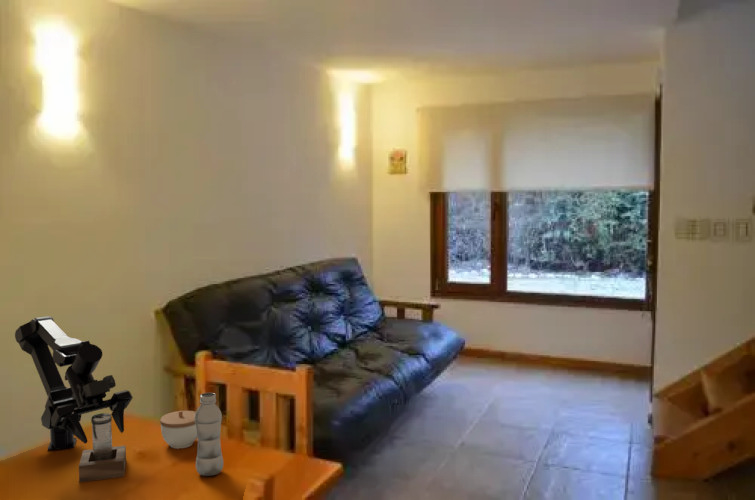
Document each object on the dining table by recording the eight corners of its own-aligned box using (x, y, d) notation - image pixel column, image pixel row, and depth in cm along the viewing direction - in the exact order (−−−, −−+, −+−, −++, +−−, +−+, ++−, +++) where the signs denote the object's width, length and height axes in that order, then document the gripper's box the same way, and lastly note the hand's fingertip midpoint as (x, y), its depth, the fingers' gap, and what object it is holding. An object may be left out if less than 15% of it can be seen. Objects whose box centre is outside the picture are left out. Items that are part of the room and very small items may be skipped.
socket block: (83, 465, 163) (83, 450, 163) (126, 460, 167) (125, 445, 166) (79, 482, 154) (78, 466, 154) (124, 476, 157) (123, 460, 157)
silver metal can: (96, 463, 162) (94, 413, 161) (115, 462, 163) (113, 412, 162) (90, 471, 158) (88, 420, 156) (110, 470, 158) (108, 419, 157)
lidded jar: (164, 455, 170) (163, 420, 169) (158, 441, 179) (157, 408, 179) (205, 447, 175) (204, 414, 174) (197, 434, 184) (196, 402, 184)
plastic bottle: (216, 480, 155) (214, 400, 153) (190, 478, 156) (188, 398, 154) (228, 469, 161) (226, 391, 159) (203, 466, 163) (201, 390, 161)
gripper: (53, 374, 153) (75, 431, 147) (127, 359, 167) (151, 410, 161) (41, 399, 159) (62, 454, 153) (114, 383, 173) (136, 432, 167)
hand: (104, 437), depth 158 cm, fingers open, 9 cm apart
